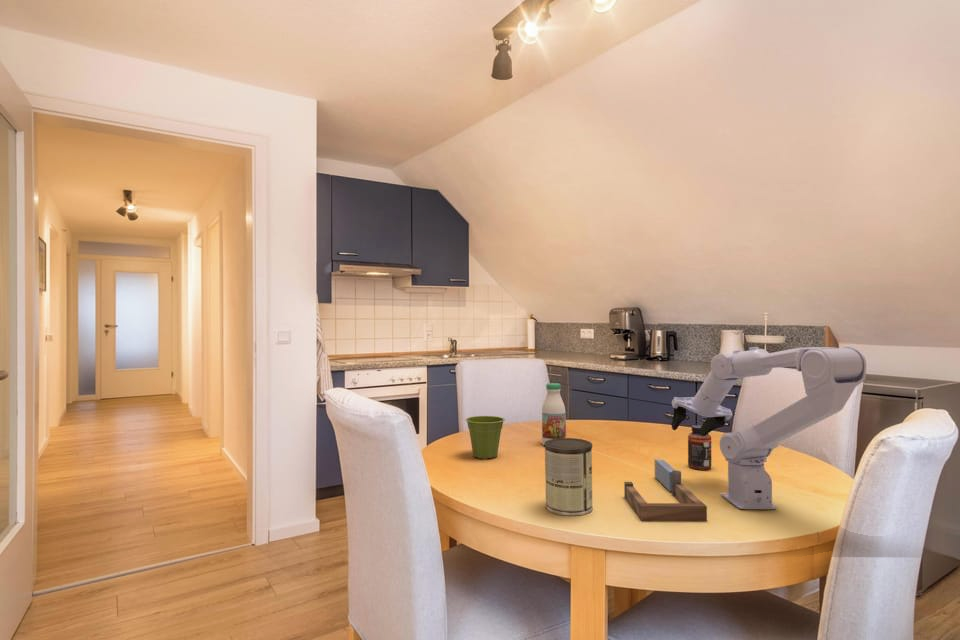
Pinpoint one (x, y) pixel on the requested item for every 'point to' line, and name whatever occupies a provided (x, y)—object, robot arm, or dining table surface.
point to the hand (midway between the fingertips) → (687, 430)
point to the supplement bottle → (699, 449)
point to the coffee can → (568, 476)
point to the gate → (663, 473)
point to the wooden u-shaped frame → (668, 504)
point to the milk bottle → (553, 414)
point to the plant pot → (485, 435)
